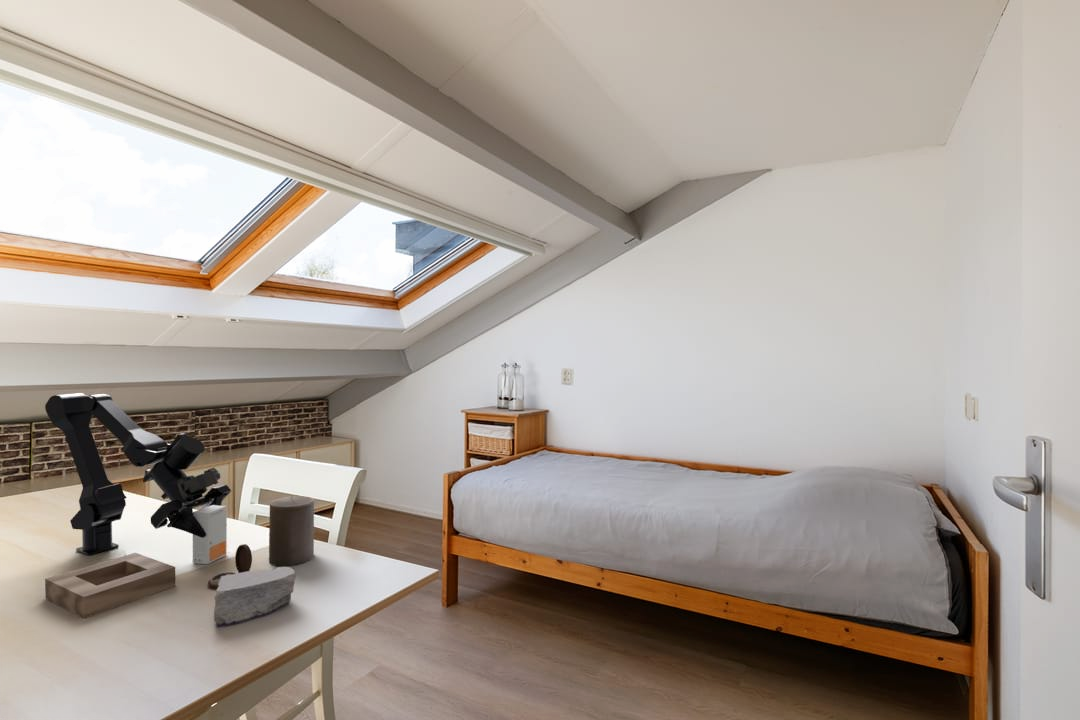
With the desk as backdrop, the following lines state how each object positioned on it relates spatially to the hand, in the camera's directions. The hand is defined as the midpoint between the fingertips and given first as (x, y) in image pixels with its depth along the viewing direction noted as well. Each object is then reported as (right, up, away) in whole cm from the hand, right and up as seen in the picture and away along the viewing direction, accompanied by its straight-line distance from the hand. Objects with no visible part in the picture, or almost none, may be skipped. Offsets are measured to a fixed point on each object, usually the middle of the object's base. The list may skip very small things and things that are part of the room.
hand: (215, 531), depth 131 cm
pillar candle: (+17, -7, +1) cm, 19 cm away
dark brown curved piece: (+10, -7, -12) cm, 18 cm away
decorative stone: (+21, -8, -24) cm, 33 cm away
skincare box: (-1, -7, +1) cm, 7 cm away
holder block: (-11, -7, -17) cm, 21 cm away
